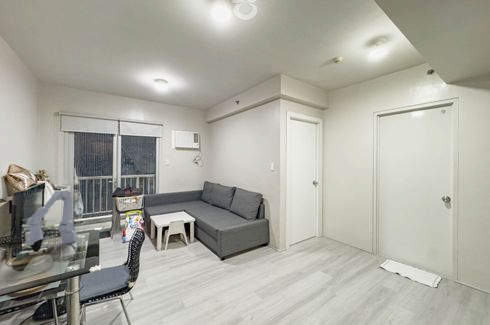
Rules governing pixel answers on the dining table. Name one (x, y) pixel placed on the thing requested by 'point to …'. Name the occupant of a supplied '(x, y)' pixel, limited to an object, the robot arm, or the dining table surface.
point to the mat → (54, 246)
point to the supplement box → (27, 236)
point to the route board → (22, 256)
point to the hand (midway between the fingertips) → (37, 250)
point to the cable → (39, 251)
